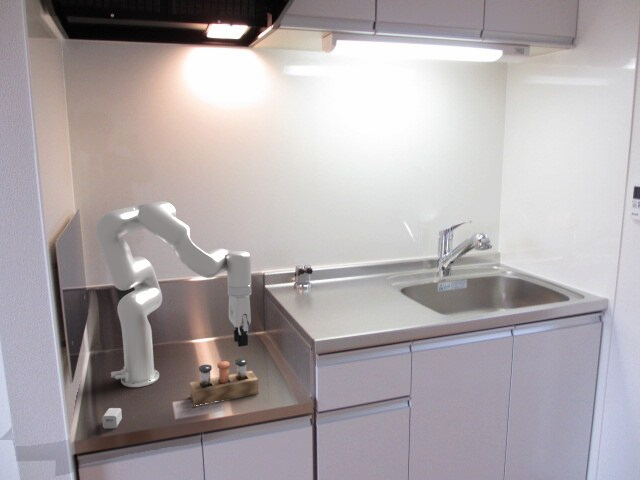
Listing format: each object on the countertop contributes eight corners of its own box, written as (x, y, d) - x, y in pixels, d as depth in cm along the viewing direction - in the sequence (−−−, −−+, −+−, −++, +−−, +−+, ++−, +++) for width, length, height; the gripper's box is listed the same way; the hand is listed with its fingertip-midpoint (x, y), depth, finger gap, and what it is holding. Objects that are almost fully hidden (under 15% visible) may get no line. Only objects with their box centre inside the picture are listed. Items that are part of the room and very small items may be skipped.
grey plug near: (201, 390, 163) (200, 370, 161) (198, 385, 166) (197, 365, 165) (213, 388, 164) (212, 368, 163) (210, 382, 168) (209, 363, 166)
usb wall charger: (103, 428, 149) (102, 416, 148) (111, 415, 156) (110, 403, 155) (117, 428, 149) (116, 415, 148) (125, 415, 156) (124, 403, 155)
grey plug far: (237, 383, 168) (237, 364, 166) (234, 378, 171) (233, 359, 170) (249, 381, 169) (249, 361, 168) (246, 376, 173) (245, 357, 171)
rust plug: (219, 387, 165) (219, 367, 164) (216, 381, 169) (216, 362, 167) (231, 384, 167) (231, 365, 165) (228, 379, 170) (228, 360, 169)
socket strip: (194, 406, 161) (194, 392, 160) (190, 396, 167) (189, 382, 166) (258, 393, 170) (258, 379, 169) (252, 384, 176) (251, 370, 175)
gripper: (221, 284, 170) (223, 336, 173) (235, 298, 155) (236, 355, 159) (243, 281, 173) (244, 332, 176) (258, 295, 158) (260, 351, 162)
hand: (241, 342), depth 168 cm, fingers open, 3 cm apart
